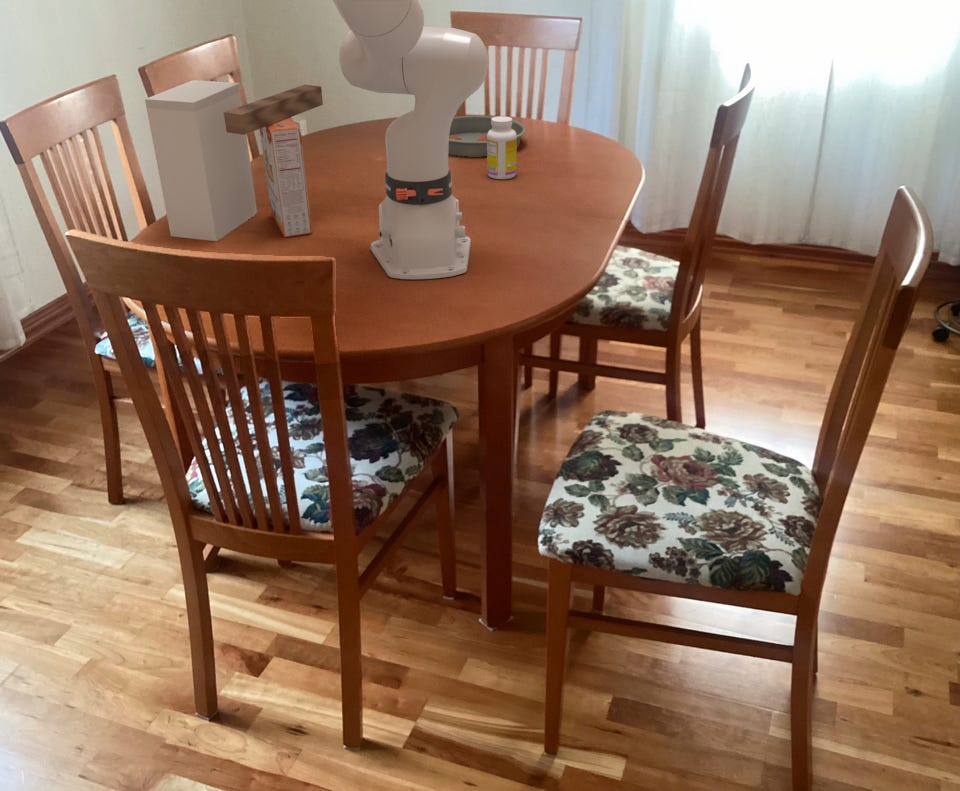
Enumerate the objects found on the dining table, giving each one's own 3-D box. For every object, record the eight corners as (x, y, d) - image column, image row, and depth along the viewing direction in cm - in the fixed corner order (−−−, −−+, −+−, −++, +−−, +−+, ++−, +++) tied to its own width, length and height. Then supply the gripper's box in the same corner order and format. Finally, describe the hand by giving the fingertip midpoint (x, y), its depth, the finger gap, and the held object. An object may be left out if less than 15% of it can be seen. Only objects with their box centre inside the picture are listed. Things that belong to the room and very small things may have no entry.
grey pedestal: (214, 209, 191) (193, 80, 178) (257, 213, 189) (239, 83, 175) (170, 236, 178) (144, 99, 165) (216, 241, 176) (193, 102, 162)
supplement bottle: (517, 171, 212) (518, 115, 205) (515, 180, 206) (516, 122, 200) (488, 171, 212) (488, 114, 206) (485, 180, 207) (485, 122, 200)
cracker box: (269, 215, 188) (255, 111, 177) (298, 211, 190) (287, 108, 179) (281, 239, 177) (268, 129, 166) (313, 234, 178) (301, 126, 168)
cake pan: (495, 165, 217) (495, 146, 214) (409, 151, 227) (408, 132, 225) (542, 140, 235) (543, 122, 233) (460, 127, 246) (460, 110, 243)
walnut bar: (306, 102, 183) (304, 84, 181) (322, 104, 181) (321, 86, 180) (226, 132, 165) (223, 112, 163) (244, 134, 163) (241, 114, 161)
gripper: (324, -84, 178) (330, -7, 185) (324, -76, 161) (331, 9, 168) (356, -84, 179) (361, -7, 186) (360, -77, 161) (365, 8, 169)
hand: (347, 1), depth 177 cm, fingers open, 8 cm apart
